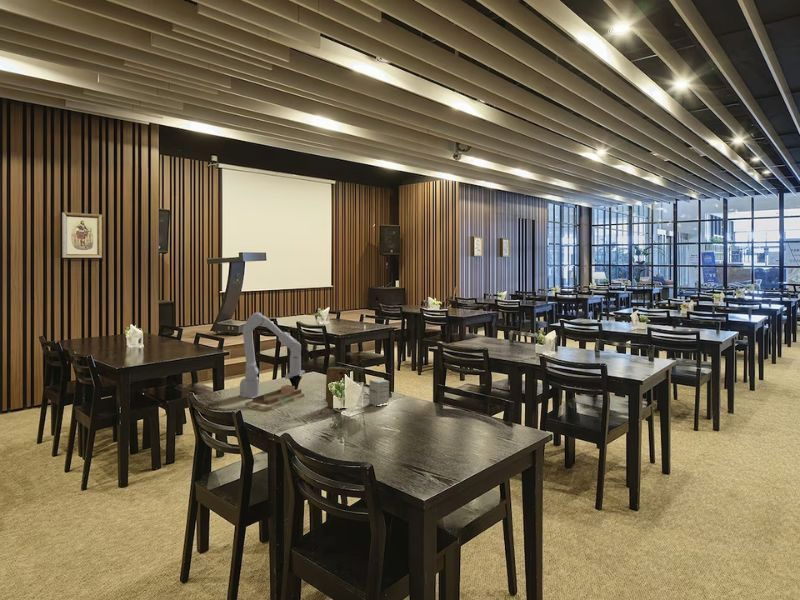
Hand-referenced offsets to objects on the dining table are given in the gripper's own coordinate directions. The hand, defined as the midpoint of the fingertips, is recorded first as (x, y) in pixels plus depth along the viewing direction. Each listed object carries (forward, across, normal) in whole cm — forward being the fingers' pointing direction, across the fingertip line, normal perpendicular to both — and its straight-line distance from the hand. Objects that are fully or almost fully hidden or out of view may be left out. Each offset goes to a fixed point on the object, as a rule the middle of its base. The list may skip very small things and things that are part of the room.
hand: (295, 389), depth 272 cm
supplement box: (+3, +7, -47) cm, 48 cm away
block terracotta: (+1, -6, 0) cm, 6 cm away
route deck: (+3, -16, 0) cm, 16 cm away
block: (+3, -8, -32) cm, 33 cm away
